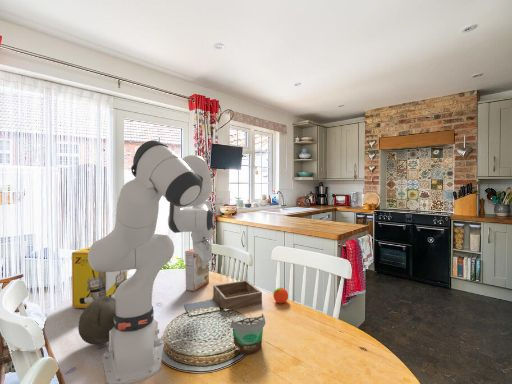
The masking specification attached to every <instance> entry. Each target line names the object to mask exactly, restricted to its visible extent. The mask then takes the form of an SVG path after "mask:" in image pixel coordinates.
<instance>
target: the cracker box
mask: <svg viewBox="0 0 512 384" xmlns="http://www.w3.org/2000/svg"><path fill="white" fill-rule="evenodd" d="M184 255H185V256H184V257H185V258H184V261H185V290H186V291H190V292H191V291H192V292H196V291H197V290H199V289H201V288H203V287H204V286H206V285H207V284H209V283H210V272H209V271H210V269H209V268H210V267H209V262H210V261H208V275H205V276H198V275H197V274H196V253H195V252H194V250H193V248H192V249H188V250H185V251H184Z"/></svg>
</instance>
